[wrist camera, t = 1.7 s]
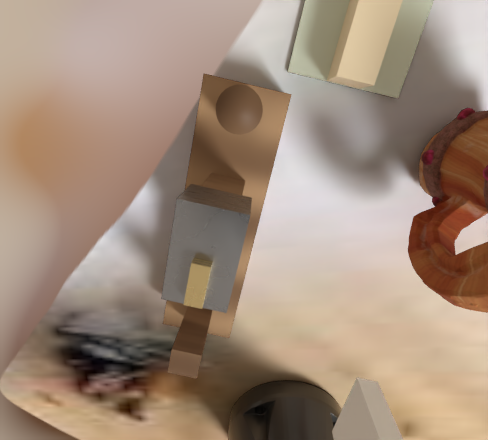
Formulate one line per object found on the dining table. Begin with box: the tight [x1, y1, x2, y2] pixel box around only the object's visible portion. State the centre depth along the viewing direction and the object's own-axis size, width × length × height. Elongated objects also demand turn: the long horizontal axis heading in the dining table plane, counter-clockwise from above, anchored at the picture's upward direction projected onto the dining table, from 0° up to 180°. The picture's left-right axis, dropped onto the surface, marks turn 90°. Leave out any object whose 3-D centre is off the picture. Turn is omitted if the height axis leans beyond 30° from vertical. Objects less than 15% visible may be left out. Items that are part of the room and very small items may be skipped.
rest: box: [288, 0, 434, 98], centre depth 24 cm, size 10×10×4 cm
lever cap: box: [161, 184, 252, 313], centre depth 21 cm, size 7×4×5 cm, turn 167°
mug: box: [408, 108, 488, 312], centre depth 23 cm, size 15×8×15 cm, turn 144°
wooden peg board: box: [163, 74, 291, 379], centre depth 27 cm, size 24×7×11 cm, turn 167°
